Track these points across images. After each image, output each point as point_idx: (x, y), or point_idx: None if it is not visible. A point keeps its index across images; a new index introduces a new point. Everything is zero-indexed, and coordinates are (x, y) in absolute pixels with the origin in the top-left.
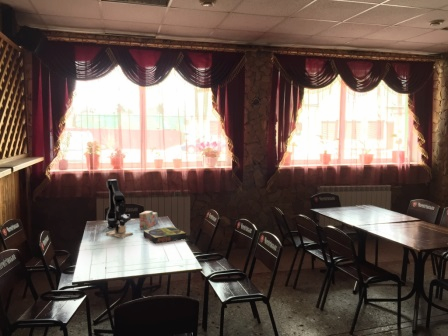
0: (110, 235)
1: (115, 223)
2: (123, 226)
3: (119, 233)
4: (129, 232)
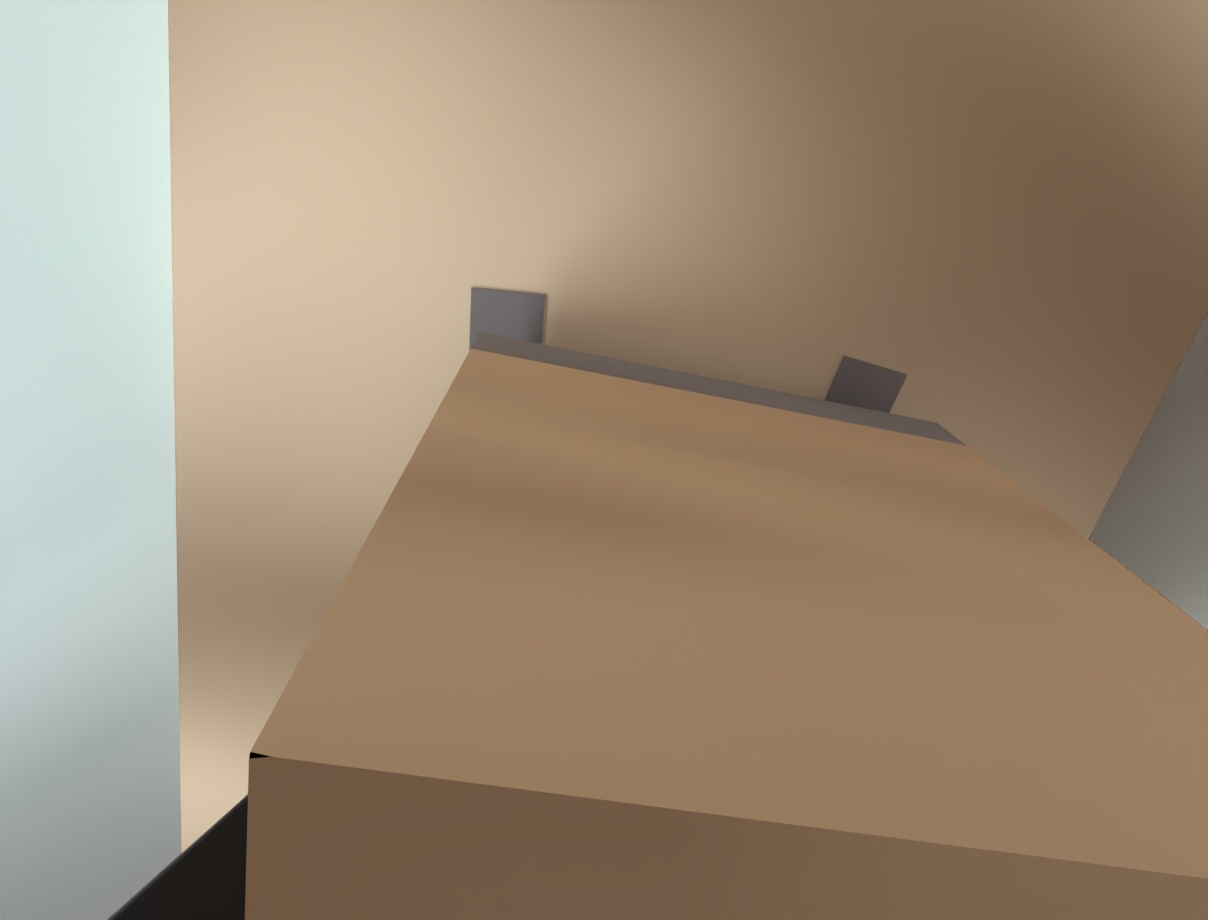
0: None
1: None
2: (922, 807)
3: None
4: (249, 65)
